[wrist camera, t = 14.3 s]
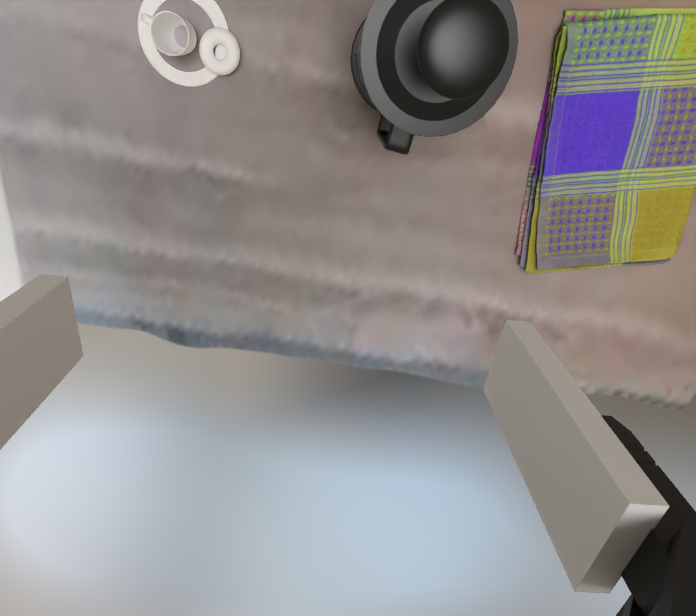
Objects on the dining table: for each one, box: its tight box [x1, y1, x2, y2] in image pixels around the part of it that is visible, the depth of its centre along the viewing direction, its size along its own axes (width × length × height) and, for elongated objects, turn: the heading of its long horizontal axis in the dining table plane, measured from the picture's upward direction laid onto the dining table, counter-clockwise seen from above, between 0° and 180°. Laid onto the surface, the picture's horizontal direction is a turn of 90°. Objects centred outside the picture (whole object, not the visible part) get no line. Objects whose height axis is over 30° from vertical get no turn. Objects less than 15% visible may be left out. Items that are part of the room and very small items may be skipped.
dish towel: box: [515, 8, 696, 274], centre depth 44 cm, size 18×24×3 cm
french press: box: [351, 0, 518, 154], centre depth 30 cm, size 12×9×23 cm
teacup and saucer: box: [138, 0, 240, 87], centre depth 38 cm, size 9×8×4 cm
